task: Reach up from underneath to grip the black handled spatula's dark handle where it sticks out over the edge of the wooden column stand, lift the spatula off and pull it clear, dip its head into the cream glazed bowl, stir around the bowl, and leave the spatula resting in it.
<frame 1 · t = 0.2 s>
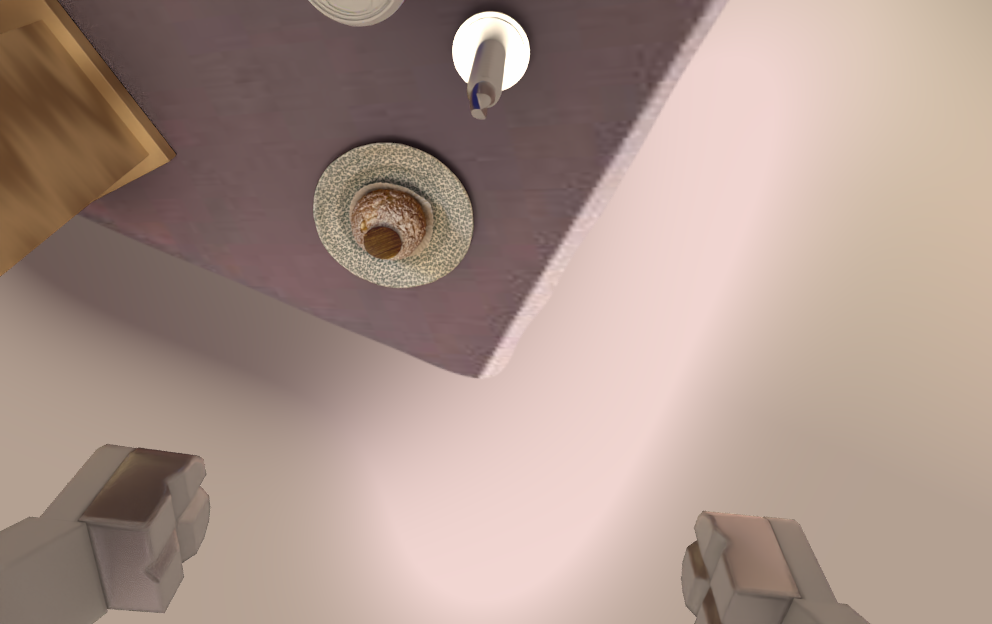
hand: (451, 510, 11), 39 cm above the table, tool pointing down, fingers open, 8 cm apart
wooden column stand: (55, 97, 47), on the table
pastry: (396, 212, 52), on the table
screw: (492, 44, 44), on the table
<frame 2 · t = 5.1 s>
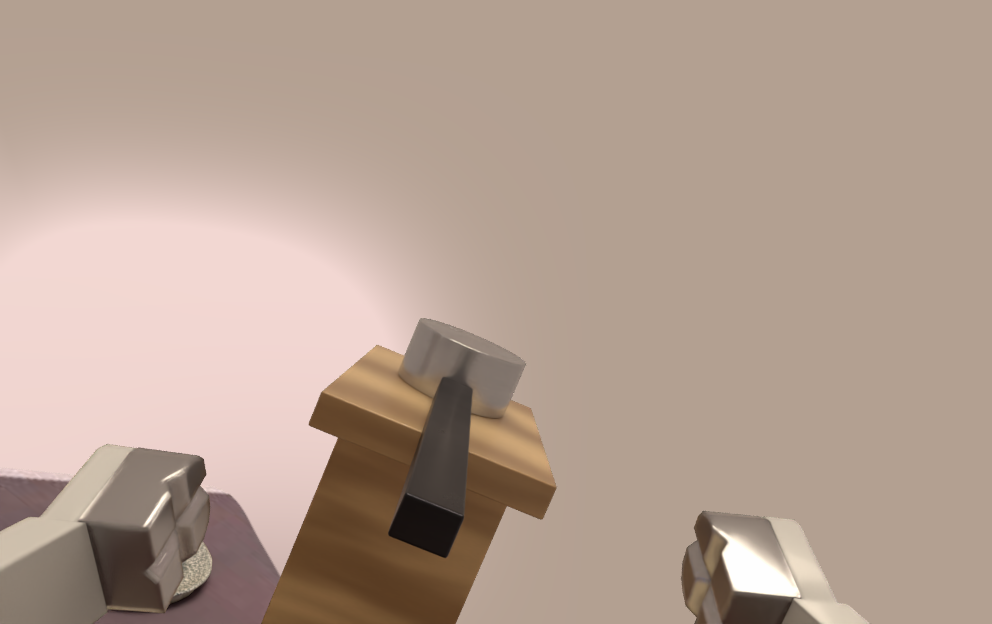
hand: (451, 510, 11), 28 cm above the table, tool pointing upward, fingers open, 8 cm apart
pastry: (126, 565, 52), on the table
black handled spatula: (451, 393, 36), point 25 cm above the table, touching wooden column stand
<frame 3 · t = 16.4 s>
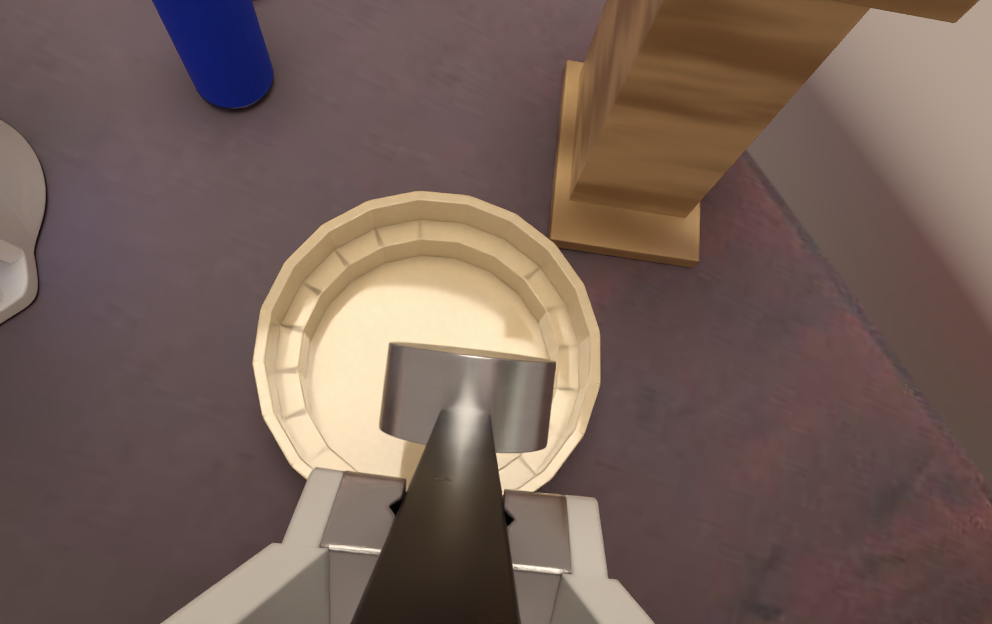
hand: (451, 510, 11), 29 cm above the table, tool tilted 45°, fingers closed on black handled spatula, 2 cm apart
bowl: (430, 371, 42), on the table
wooden column stand: (625, 165, 48), on the table
beverage can: (236, 82, 46), on the table
black handled spatula: (463, 435, 24), point 17 cm above the table, tilted 73°, touching gripper
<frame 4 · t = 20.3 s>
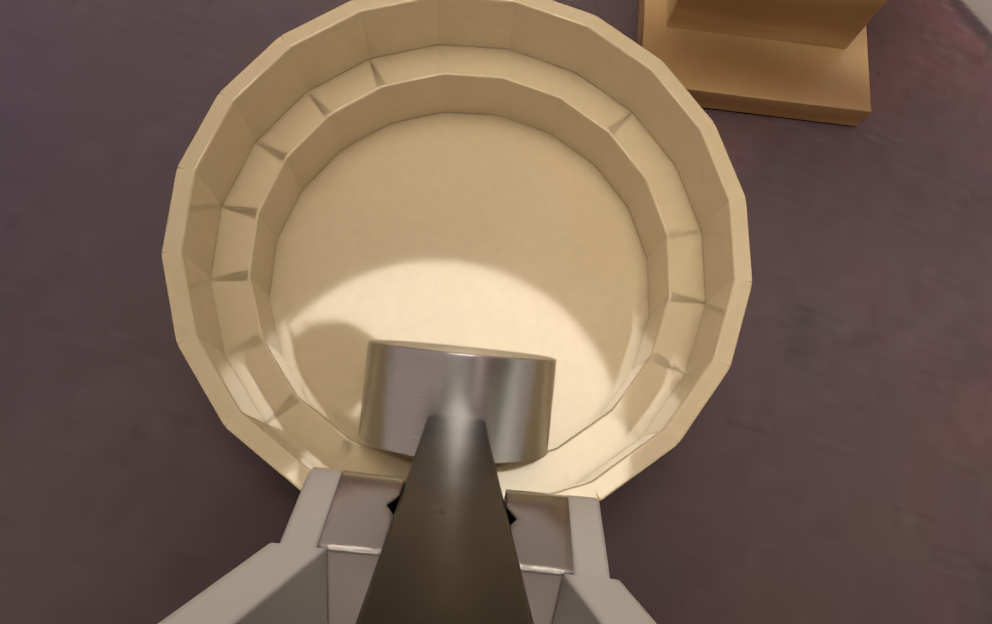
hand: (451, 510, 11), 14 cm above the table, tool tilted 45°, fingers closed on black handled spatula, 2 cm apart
bowl: (462, 285, 27), on the table
black handled spatula: (453, 442, 22), point 4 cm above the table, tilted 75°, touching bowl, gripper
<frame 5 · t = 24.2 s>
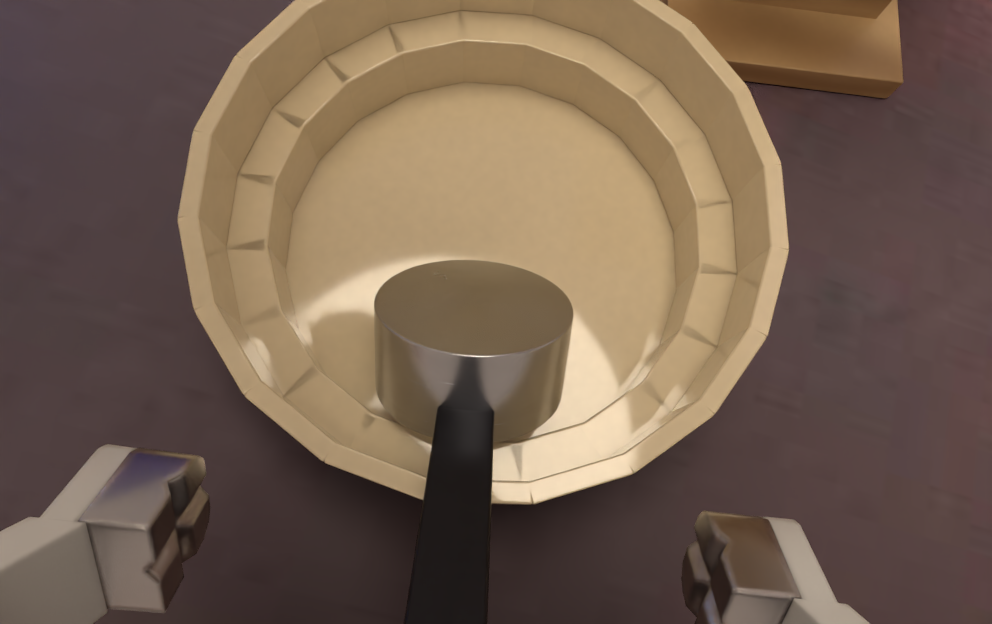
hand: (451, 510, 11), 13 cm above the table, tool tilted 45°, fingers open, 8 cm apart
bowl: (483, 259, 26), on the table
black handled spatula: (469, 382, 22), point 3 cm above the table, tilted 45°, touching bowl
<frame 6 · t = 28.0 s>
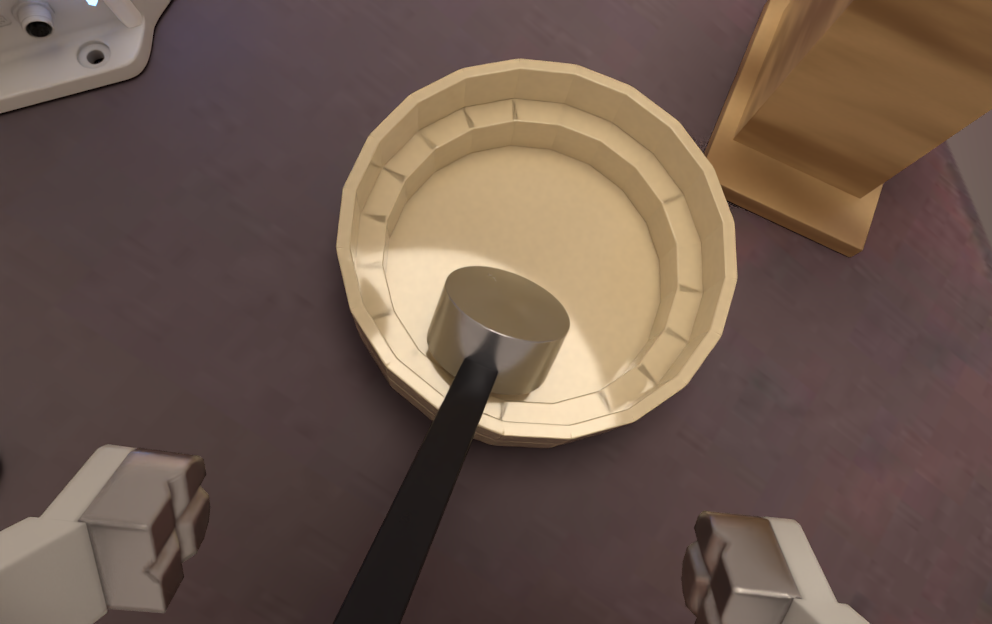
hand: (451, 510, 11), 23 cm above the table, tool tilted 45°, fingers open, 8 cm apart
bowl: (523, 275, 37), on the table
wooden column stand: (805, 125, 41), on the table
black handled spatula: (487, 353, 32), point 3 cm above the table, tilted 45°, touching bowl
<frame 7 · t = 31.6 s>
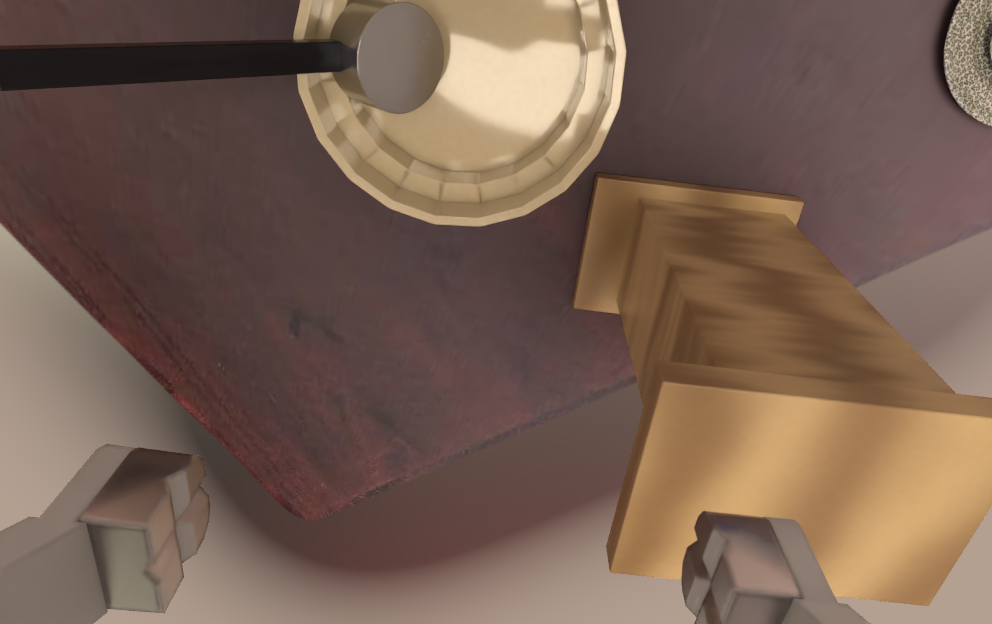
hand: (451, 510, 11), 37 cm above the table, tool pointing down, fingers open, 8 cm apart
bowl: (466, 55, 43), on the table
wooden column stand: (680, 251, 49), on the table
black handled spatula: (373, 52, 40), point 3 cm above the table, tilted 45°, touching bowl
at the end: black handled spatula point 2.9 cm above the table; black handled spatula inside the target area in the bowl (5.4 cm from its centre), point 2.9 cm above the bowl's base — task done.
